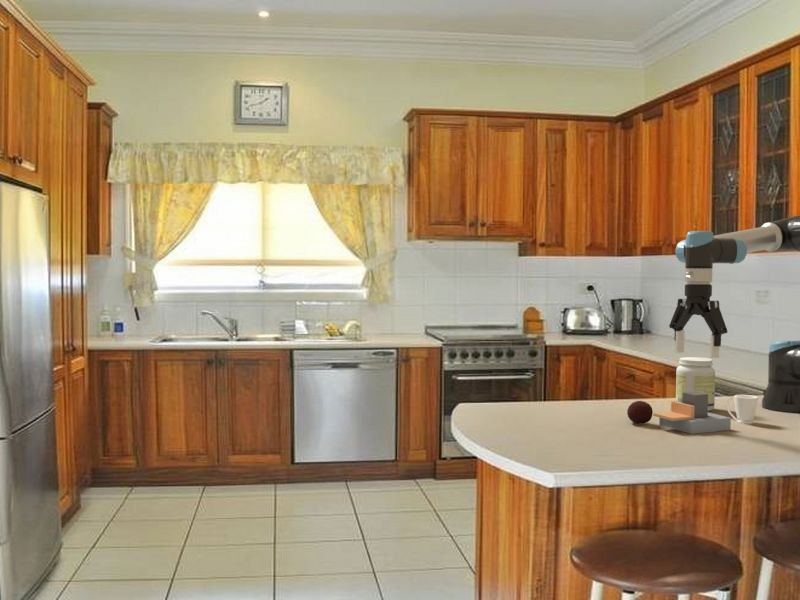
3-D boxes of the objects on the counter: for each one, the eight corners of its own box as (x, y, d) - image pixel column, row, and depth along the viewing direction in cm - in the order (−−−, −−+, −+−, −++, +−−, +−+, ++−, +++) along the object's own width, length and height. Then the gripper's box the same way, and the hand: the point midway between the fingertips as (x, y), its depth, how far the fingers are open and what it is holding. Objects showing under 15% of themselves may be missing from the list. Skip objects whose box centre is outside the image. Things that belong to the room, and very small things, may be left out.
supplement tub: (717, 408, 259) (718, 358, 258) (710, 414, 249) (711, 362, 248) (679, 404, 266) (681, 355, 265) (671, 409, 255) (672, 359, 255)
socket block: (696, 421, 237) (697, 409, 237) (730, 429, 225) (730, 417, 225) (659, 424, 231) (659, 413, 231) (691, 433, 219) (692, 421, 219)
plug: (694, 421, 232) (695, 391, 231) (707, 424, 227) (708, 394, 227) (681, 422, 230) (682, 392, 229) (694, 426, 225) (695, 395, 225)
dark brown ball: (653, 422, 235) (654, 399, 234) (650, 427, 228) (651, 404, 227) (628, 420, 238) (629, 397, 237) (625, 425, 231) (625, 402, 230)
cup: (748, 425, 231) (748, 399, 231) (719, 419, 240) (720, 394, 240) (762, 423, 235) (763, 397, 234) (734, 417, 243) (735, 392, 243)
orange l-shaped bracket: (674, 413, 230) (674, 401, 230) (694, 418, 223) (694, 405, 223) (653, 415, 227) (653, 403, 227) (673, 420, 220) (673, 407, 219)
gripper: (658, 282, 236) (656, 350, 237) (722, 284, 213) (720, 360, 214) (677, 282, 239) (675, 349, 240) (742, 284, 216) (739, 359, 217)
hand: (696, 355), depth 227 cm, fingers open, 13 cm apart
